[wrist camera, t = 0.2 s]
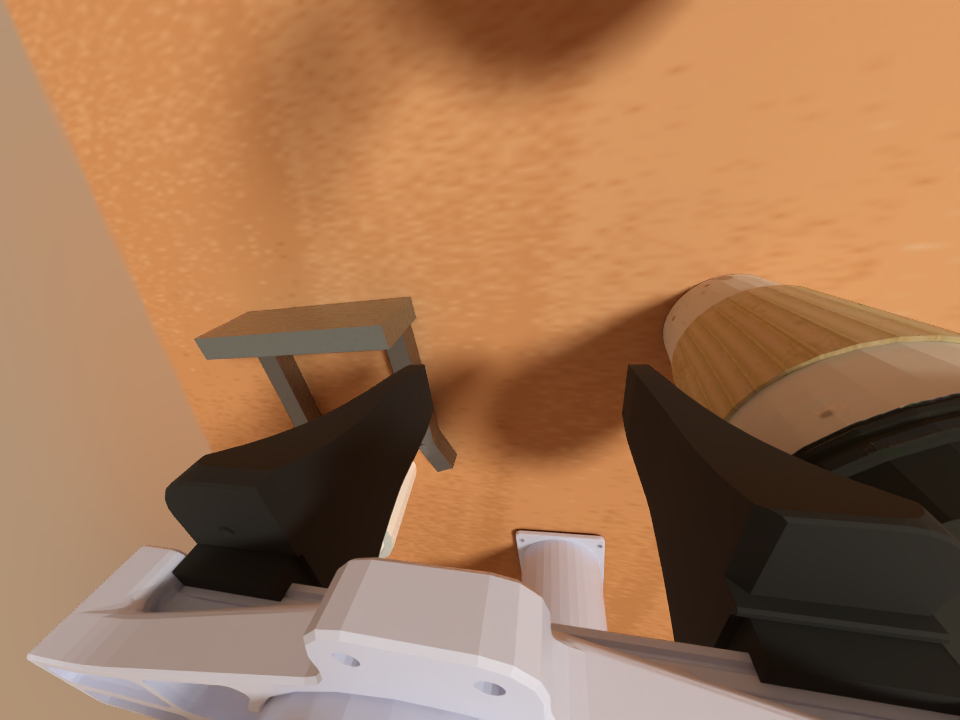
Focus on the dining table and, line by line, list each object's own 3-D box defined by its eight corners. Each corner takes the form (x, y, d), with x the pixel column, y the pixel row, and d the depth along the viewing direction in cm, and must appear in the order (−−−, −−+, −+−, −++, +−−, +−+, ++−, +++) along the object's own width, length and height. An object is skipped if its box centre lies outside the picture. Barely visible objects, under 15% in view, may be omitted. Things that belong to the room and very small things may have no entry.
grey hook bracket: (458, 458, 29) (444, 503, 25) (317, 455, 32) (286, 495, 28) (417, 296, 22) (389, 324, 18) (242, 312, 25) (187, 339, 21)
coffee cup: (759, 410, 22) (1051, 760, 9) (607, 376, 23) (679, 655, 10) (876, 258, 17) (1920, 575, 4) (673, 220, 17) (1007, 383, 5)
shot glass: (340, 463, 32) (293, 531, 26) (370, 423, 29) (323, 491, 23) (401, 499, 33) (369, 572, 27) (436, 464, 30) (408, 540, 24)
